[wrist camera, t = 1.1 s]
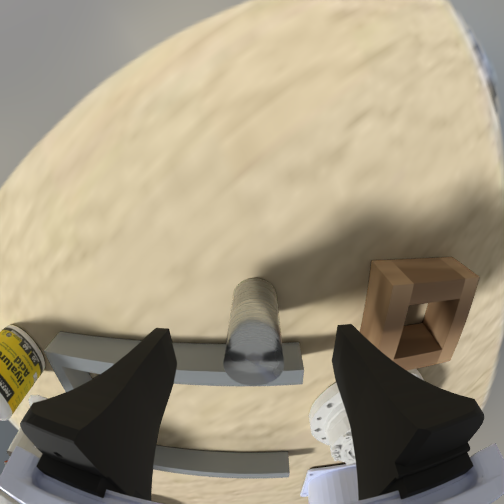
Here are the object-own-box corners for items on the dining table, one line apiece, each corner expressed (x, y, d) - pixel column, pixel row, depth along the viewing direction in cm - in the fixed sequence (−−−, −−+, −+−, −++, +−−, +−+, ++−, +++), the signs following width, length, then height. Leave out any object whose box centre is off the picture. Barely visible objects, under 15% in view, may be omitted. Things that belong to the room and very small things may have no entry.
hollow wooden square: (431, 334, 17) (450, 360, 14) (356, 345, 17) (370, 377, 14) (452, 256, 15) (479, 277, 12) (371, 260, 15) (393, 285, 12)
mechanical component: (414, 413, 21) (426, 342, 18) (429, 447, 17) (452, 381, 13) (316, 444, 22) (298, 382, 19) (321, 482, 18) (305, 431, 15)
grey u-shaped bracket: (287, 456, 22) (288, 477, 20) (121, 443, 23) (114, 460, 21) (298, 342, 17) (304, 369, 15) (59, 331, 17) (43, 350, 15)
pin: (276, 314, 16) (283, 384, 11) (234, 315, 16) (226, 385, 11) (276, 277, 15) (285, 341, 10) (231, 278, 15) (220, 343, 10)
